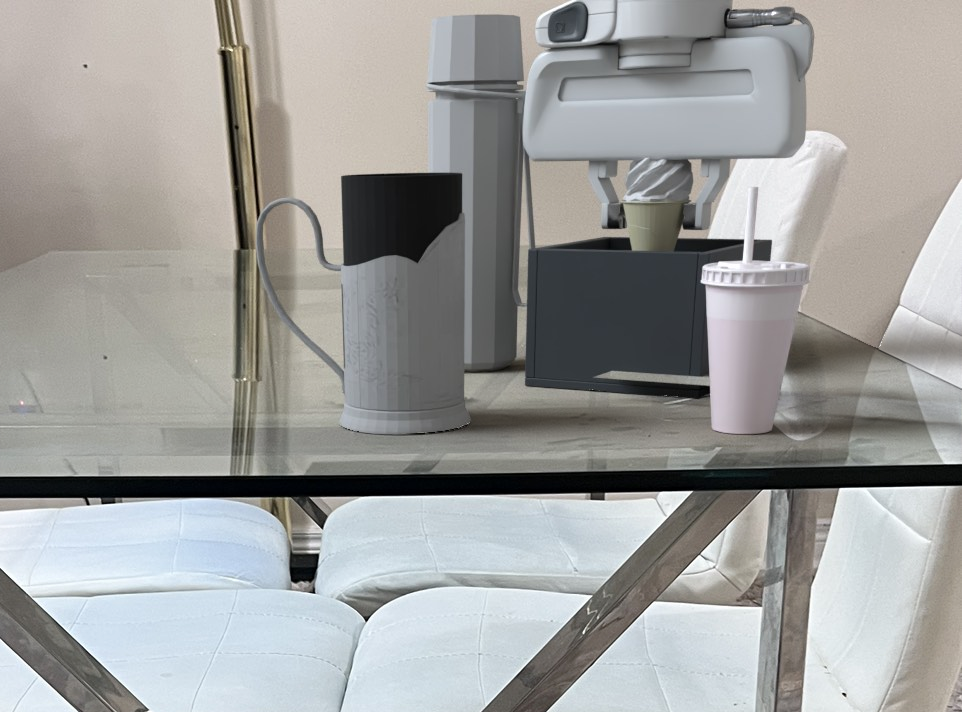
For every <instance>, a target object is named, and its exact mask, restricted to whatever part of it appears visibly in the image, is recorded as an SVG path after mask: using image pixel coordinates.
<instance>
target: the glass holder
mask: <svg viewBox="0 0 962 712" xmlns="http://www.w3.org/2000/svg"><path fill="white" fill-rule="evenodd" d="M340 190H341V218H342V219H341V220H342V221H341V222H342V253H343V254H342V256H343V257H342V258H343V260H342V261H343V262H342V263H341V264H333V263H330V262H328V260H327V259H326V256H325V250H324V236H323V231H322V225H321V224H320V221H319V218H318V215H316V212H315V211H314V210H313V209H312V207H311V206H310V205H309V204H307V203H306V202H304V200H301V199H299V198H295V197H280V198H278V199H276V200H273V201H271V202H269V203H268V204H267V205H266V206H265V207H264V208H263V209H262V210H261V212H260V214H259V216H258V219H257V221H256V224H255V239H254V241H255V249H256V250H255V251H256V252H255V253H256V261H257V266H258V269H259V270H258V271H259V274H260V277H261V282H262V284H263V287H264V289H265V291H266V294H267V296H268V298H269V301H270V302H271V305H272V307H273V308H274V310H275V312H276V314H277V315H278V318H279V319H280V321H282V322H283V324H285V326H286V327H287V328H288V329H289V330H290V332H292V333H293V334H294V335H295V336H296V337H297V338H298V339H299V340H300V341H301V342H302V343H303V344H304V345H305V346H306V347H308V348H309V349H310V350H311V351H312V352H313V353H314V354H315V355H316V356H317V357H319V358H320V359H321V360H322V362H324V363H325V364H326V365H327V366H329V368H331V369H332V371H334V373H335V374H336V375H337V376H338V378H339V379H340V384H341V392H342V393H343V394H344V404H343V411H342V413H341V415H340V417H339V419H338V425H339V424H340V425H342V426H343V427H345V428H347V429H346V430H348V429H350V430H349V431H352V430H353V431H352V432H357V431H359V432H358V433H364V434H373V435H374V434H375V435H404V434H403V433H418V432H424V433H425V432H435V433H437V432H436V431H443V432H445V431H444V430H449V429H454V428H457V427H460V426H462V425H466V424H467V423H469V422H470V421H471V422H472V418H471V415H470V413H469V411H468V409H467V406H466V400H465V371H464V332H465V214H464V213H462V173H428V172H395V173H394V172H392V173H391V172H390V173H389V172H388V173H361V174H345V175H341V176H340ZM283 204H291V205H293V206H297V207H298V208H299V209H300V210H302V212H304V214H305V215H306V216H307V217H308V219H309V221H310V223H311V226H312V229H313V234H314V235H313V236H314V239H315V240H314V241H315V252H316V257H317V259H318V263H319V264H320V265H321V266H322V267H323V268H324V269H326V270H329V271H334V272H340V276H341V277H340V282H341V283H340V284H341V316H342V317H341V319H342V320H341V321H342V345H343V346H342V349H343V350H342V351H343V353H342V354H343V368H342V367H341V366H340V365H339V364H338V363H337V362H336V361H335V360H334V359H333V358H332V357H331V356H330V355H329V354H327V353H326V352H325V351H324V350H323V349H322V348H321V347H320V346H319V345H318V344H316V343H315V342H314V341H313V340H312V339H311V338H310V337H309V336H308V335H307V334H305V332H303V330H302V329H301V328H300V327H299V326H298V325H297V324H296V323H295V322H294V320H293V319H292V318H291V317H290V316H289V314H288V313H287V311H286V310H285V308H284V306H283V305H282V303H281V302H280V299H279V298H278V295H277V293H276V291H275V289H274V286H273V284H272V282H271V278H270V275H269V272H268V268H267V263H266V258H265V250H264V242H263V241H264V240H263V239H264V224H265V222H266V219H267V217H268V214H269V213H270V212H271V211H272V210H274V208H276V207H279V206H281V205H283ZM340 425H339V426H340ZM343 427H342V428H343ZM345 428H344V429H345ZM454 430H455V429H454ZM449 431H450V430H449ZM425 434H426V433H425Z"/></svg>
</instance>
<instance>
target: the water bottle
mask: <svg viewBox="0 0 962 712" xmlns="http://www.w3.org/2000/svg"><path fill="white" fill-rule="evenodd" d="M430 26H431V27H430V37H429V49H428V50H429V52H428V63H427V75H426V86H425V87H426V92H428V93H435V99H433V100H431V101H429V102H427V173H462V213H464V214H465V332H464V373H465V372H467V373H468V372H471V373H474V372H476V373H477V372H491V371H496V370H497V371H498V370H502V369H504V368H506V367H508V366H509V365H512V364H513V362H514V361H515V359H517V355H518V354H517V351H518V313H519V311H518V309H519V308H518V307H521V308H522V307H523V308H524V307H525V308H526V307H527V300H526V302H523V301H522V299H521V295H520V291H519V274H520V252H521V250H520V249H521V229H522V228H521V227H522V225H521V224H522V203H523V202H522V201H523V199H522V198H523V176H524V183H525V184H524V187H525V199H526V200H525V202H526V203H525V204H526V216H527V217H526V219H527V229H528V231H527V232H528V250H529V249H532V248H536V237H535V235H536V234H535V223H534V207H533V193H532V179H531V178H532V177H531V164H530V163H531V162H530V157H529V155H528V154H527V152H526V150H525V149H524V146H523V116H524V104H525V95H526V90H524V87H525V86H524V84H518V82H524V81H525V74H524V58H523V56H524V55H523V42H522V25H521V16H519V15H515V14H500V13H499V14H498V13H497V14H492V13H491V14H459V15H447V16H437V17H434V18H431V25H430ZM523 173H524V175H523Z"/></svg>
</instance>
